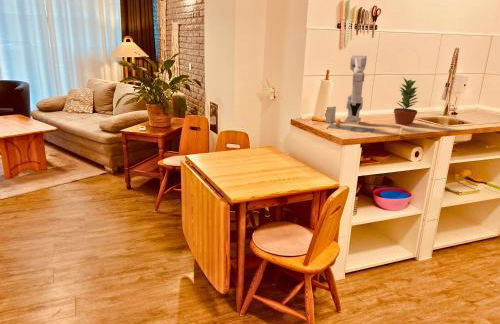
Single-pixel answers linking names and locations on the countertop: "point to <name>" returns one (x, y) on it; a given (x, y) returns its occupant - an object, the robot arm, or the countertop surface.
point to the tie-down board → (352, 128)
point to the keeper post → (337, 122)
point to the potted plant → (406, 105)
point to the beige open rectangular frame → (353, 119)
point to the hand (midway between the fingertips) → (354, 115)
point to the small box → (330, 114)
